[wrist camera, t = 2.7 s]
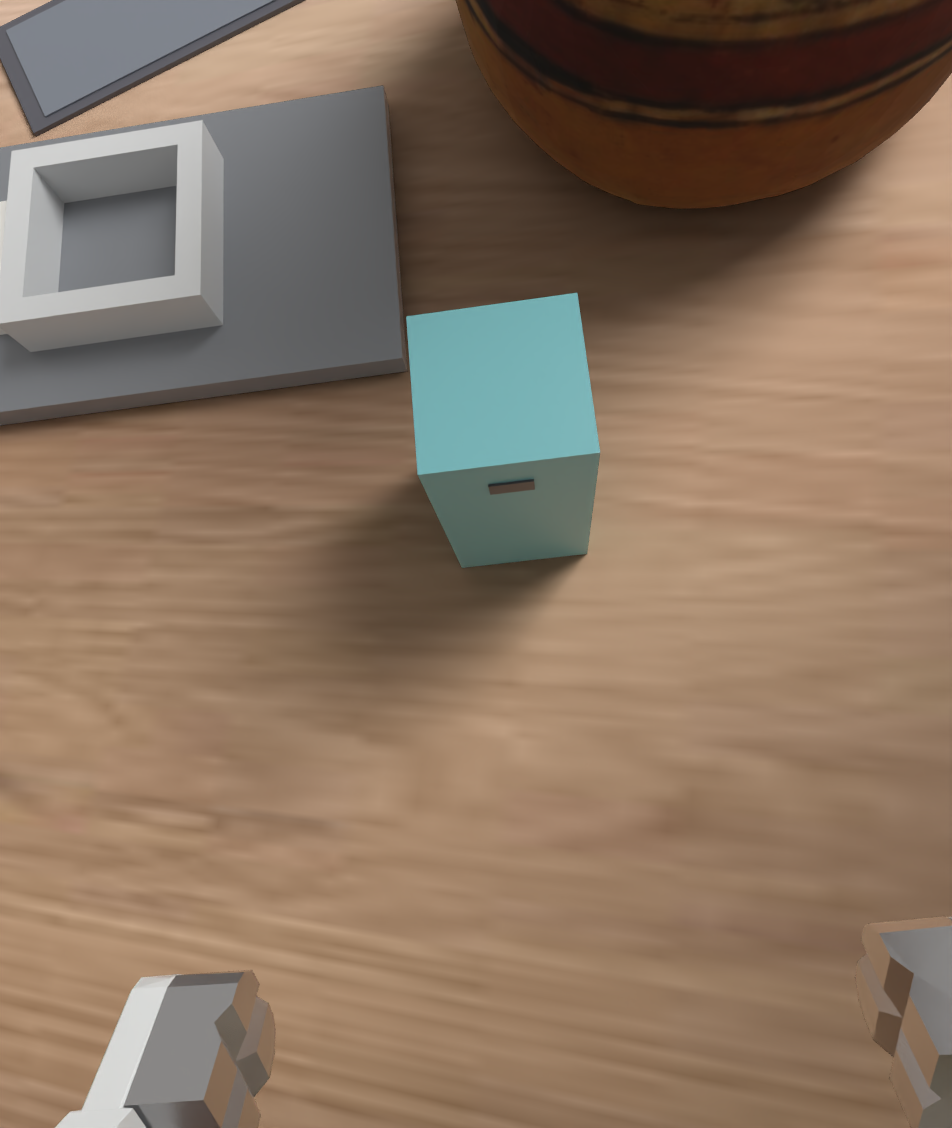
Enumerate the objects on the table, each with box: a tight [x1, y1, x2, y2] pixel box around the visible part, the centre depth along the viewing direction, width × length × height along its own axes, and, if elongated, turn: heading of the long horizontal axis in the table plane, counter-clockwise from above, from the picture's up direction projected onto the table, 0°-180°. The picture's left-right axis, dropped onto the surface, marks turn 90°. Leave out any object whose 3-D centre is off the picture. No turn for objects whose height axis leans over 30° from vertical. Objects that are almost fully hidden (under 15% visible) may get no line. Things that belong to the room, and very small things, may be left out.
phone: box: [0, 0, 305, 136], centre depth 36 cm, size 7×14×1 cm, turn 118°
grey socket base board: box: [0, 86, 407, 425], centre depth 31 cm, size 22×13×3 cm, turn 95°
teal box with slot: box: [406, 293, 600, 568], centre depth 24 cm, size 4×5×9 cm
